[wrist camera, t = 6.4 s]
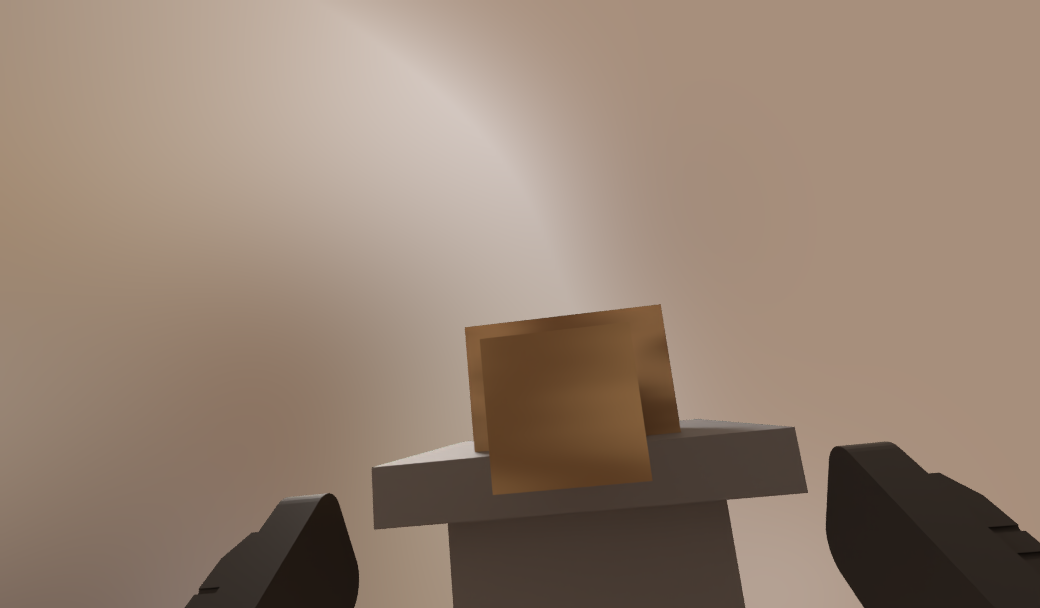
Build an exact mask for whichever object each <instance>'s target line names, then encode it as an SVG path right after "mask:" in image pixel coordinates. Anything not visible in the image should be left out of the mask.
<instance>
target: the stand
mask: <svg viewBox="0 0 1040 608" xmlns="http://www.w3.org/2000/svg"><path fill="white" fill-rule="evenodd" d="M679 423H680V429H681V432H679V433H668V434H658V435H647V436H646V439H647V446H648V453H649V460H650V467H651V474H652V480H653V481H646V482H635V483H623V484H612V485H601V486H590V487H578V488H567V489H556V490H544V491H533V492H522V493H511V494H499V495H493V492H492V480H491V468H490V456H489V451H481V452H475V450H474V441H470V442H461V443H457V444H454V445H450V446H447V447H443V448H440V449H436V450H432V451H429V452H425V453H422V454H418V455H415V456H411V457H408V458H404V459H400V460H397V461H393V462H389V463H386V464H383V465H379V466H375V467H372V487H373V513H374V529H386V528H397V527H408V526H421V525H433V524H444V523H448V532H449V547H450V562H451V578H452V593H453V608H745V603H744V598H743V592H742V586H741V580H740V574H739V569H738V563H737V558H736V552H735V546H734V540H733V534H732V528H731V523H730V517H729V511H728V505H727V500H729V499H740V498H752V497H764V496H776V495H788V494H800V493H808V490H807V485H806V481H805V475H804V471H803V466H802V461H801V456H800V451H799V446H798V442H797V437H796V432H795V427H787V426H775V425H763V424H750V423H739V422H738V423H737V422H727V421H713V420H702V419H694V420H683V421H679Z"/></svg>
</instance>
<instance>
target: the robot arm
mask: <svg viewBox="0 0 1040 608" xmlns="http://www.w3.org/2000/svg"><path fill="white" fill-rule="evenodd" d="M826 534H827V540H828V544H829V548H830V551H831V554H832V556H833V559H834V561H835V563H836V565H837V567H838V569H839V571H840V572H841V574H842V575H843V577H844V578H845V580H846V581H847V583H848V584H849V586H850V587H851V589H852V590H853V592H854V593H855V595H856V596H857V598H858V599H859V601H860V602H861V604H862V605H863V607H864V608H1040V543H1039V542H1038V541H1037V540H1036V539H1035V538H1033V537H1032V536H1031V535H1030V534H1029V533H1027V532H1026V531H1021V530H1020V529H1019V527H1018V524H1017V523H1016V522H1014V521H1013V520H1012V519H1011V518H1010V517H1008V516H1007V515H1006V514H1005V513H1004V512H1002V511H1001V510H1000V509H999V508H998V507H996V506H995V505H994V504H993V503H992V502H990V501H989V500H988V499H987V498H986V497H984V496H983V495H981V494H979V493H978V492H976V491H973V490H972V489H970V488H968V487H966V486H964V485H962V484H960V483H958V482H956V481H954V480H952V479H950V478H948V477H946V476H944V475H942V474H941V473H931V474H928V473H927V472H926V471H925V470H924V469H923V468H921V467H920V466H919V465H918V464H917V463H916V462H915V461H914V460H912V459H911V458H910V457H909V456H908V455H907V454H906V453H905V452H903V450H901V449H900V448H899V447H898V446H896V445H895V444H893V443H891V442H878V443H867V444H856V445H846V446H836V447H834V448H833V449H832V451H831V453H830V456H829V471H828V492H827V512H826ZM358 588H359V570H358V565H357V561H356V558H355V554H354V551H353V548H352V545H351V541H350V538H349V535H348V532H347V528H346V525H345V522H344V518H343V516H342V512H341V509H340V506H339V503H338V501H337V499H336V497H335V496H334V495H333V494H330V493H327V494H317V495H307V496H296V497H287V498H285V499H283V500H282V501H281V502H280V503H279V504H278V505H277V506H276V508H275V509H274V511H273V512H272V514H271V515H270V516H269V518H268V519H267V521H266V522H265V523H264V525H263V526H262V528H261V529H260V531H259V532H255V533H251V534H250V535H249V536H247V537H246V538H245V539H244V540H243V541H242V542H240V543H239V544H238V545H237V546H236V547H235V548H233V549H232V550H231V551H230V552H229V553H227V554H226V555H225V556H224V557H223V558H221V560H220V561H219V562H218V564H217V565H216V566H215V568H214V569H213V571H212V572H211V573H210V574H209V576H208V577H207V579H206V580H205V581H204V582H203V584H202V585H201V586H200V588H199V593H198V595H194V596H193V597H192V599H191V600H190V601H189V603H188V604H187V605H186V607H185V608H354V606H355V603H356V600H357V595H358Z"/></svg>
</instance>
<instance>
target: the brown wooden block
mask: <svg viewBox="0 0 1040 608" xmlns="http://www.w3.org/2000/svg"><path fill="white" fill-rule="evenodd" d="M465 335H466V348H467V360H468V373H469V386H470V399H471V412H472V424H473V436H474V450H475V452H481V451H489V456H490V468H491V480H492V492H493V495H499V494H511V493H522V492H533V491H544V490H556V489H567V488H578V487H590V486H601V485H612V484H623V483H635V482H646V481H653V480H652V474H651V467H650V460H649V453H648V446H647V439H646V436H647V435H658V434H668V433H679V432H681V429H680V423H679V417H678V410H677V404H676V398H675V392H674V385H673V379H672V373H671V367H670V361H669V354H668V348H667V342H666V335H665V329H664V323H663V317H662V310H661V305H660V304H659V305H651V306H642V307H635V308H626V309H618V310H609V311H600V312H592V313H583V314H575V315H567V316H558V317H549V318H541V319H533V320H524V321H515V322H507V323H499V324H491V325H482V326H473V327H465Z"/></svg>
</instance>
